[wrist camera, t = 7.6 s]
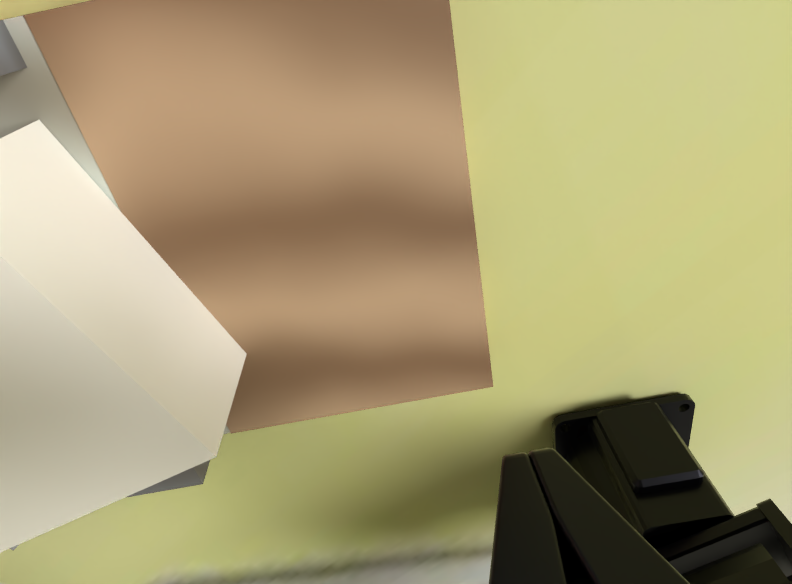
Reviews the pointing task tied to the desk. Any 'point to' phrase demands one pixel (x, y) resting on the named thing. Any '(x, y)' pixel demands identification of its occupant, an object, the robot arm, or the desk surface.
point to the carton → (93, 349)
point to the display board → (280, 182)
